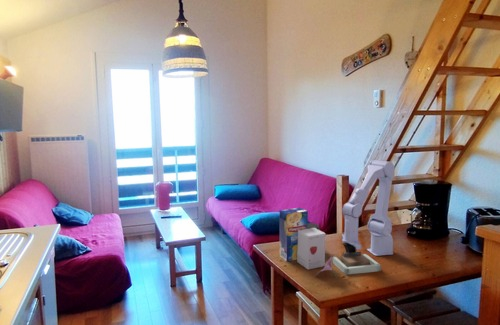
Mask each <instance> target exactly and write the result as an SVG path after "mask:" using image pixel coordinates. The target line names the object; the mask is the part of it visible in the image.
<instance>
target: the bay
mask: <svg viewBox="0 0 500 325" xmlns="http://www.w3.org/2000/svg"><path fill="white" fill-rule="evenodd" d="M362 255H363V256H364V257H366V258H367V259H368V260H370V264H371V265H363V266H353V267H347V266H345V265H344V264H343V263H342V262H341V261H340V260H341V259H340V258H338V257H337V256H333V257H332V258H333V259H332V264H333V265H335V266H336V268H338V269H339V270H340V272H342V273H343V274H344V275H346V276H347V275H354V274H365V273H374V272H375V273H376V272H381V271H382V265H381V264H380V263H379V262H377V261H376V260H375V259H373V258H372V257H371V256H369V255H368V254H367V253H362Z"/></svg>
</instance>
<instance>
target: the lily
mask: <svg viewBox="0 0 500 325" xmlns="http://www.w3.org/2000/svg"><path fill="white" fill-rule="evenodd" d="M336 255H337V254H335V255H334V256H333V257H336ZM333 257H330V258H329V259H328V260H327V261H326V262H325V266H323V269H321V270H319V271H318V272H317V273H316V275H318V274H319V273H320V272H323V271H331V272H332V273H333V275H334V276H335V277H336V278H335V279H337V278H338V276H337V274H336V273H335V271H333V269H332V262H333ZM322 264H323V263H322Z"/></svg>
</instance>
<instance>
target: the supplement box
mask: <svg viewBox="0 0 500 325" xmlns="http://www.w3.org/2000/svg"><path fill="white" fill-rule="evenodd" d="M326 236H327V235H326V233H325V232H324V231H322V230H320V229H319V230H318V229H316V228H310V229H303V230H298V250H297V260H296V261H297V263H298V264H300V265H301V266H302V267H304V268H305V269H307V270H312V269H316V268H321V267H325V264H326V260H325V259H326ZM322 263H323V264H322Z"/></svg>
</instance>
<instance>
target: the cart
mask: <svg viewBox="0 0 500 325" xmlns="http://www.w3.org/2000/svg"><path fill="white" fill-rule="evenodd" d="M339 260H340V261H341V262H342V263H343V264H344V265H345V266H347V267H353V266H363V265H371V264H370V260H368V259H367V258H366V257H364V256H363V253H362V252H361V251H356V252H349V253H346V252H343V253H342V255H341V256H340V259H339Z"/></svg>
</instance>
